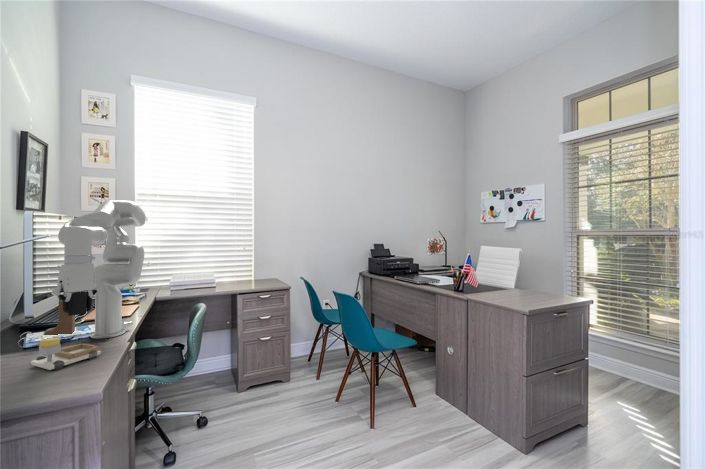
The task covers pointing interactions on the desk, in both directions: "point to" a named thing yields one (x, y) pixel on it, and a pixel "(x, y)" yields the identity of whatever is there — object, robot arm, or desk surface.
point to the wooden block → (62, 323)
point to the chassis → (67, 356)
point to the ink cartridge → (78, 303)
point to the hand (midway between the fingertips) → (77, 310)
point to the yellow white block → (49, 346)
